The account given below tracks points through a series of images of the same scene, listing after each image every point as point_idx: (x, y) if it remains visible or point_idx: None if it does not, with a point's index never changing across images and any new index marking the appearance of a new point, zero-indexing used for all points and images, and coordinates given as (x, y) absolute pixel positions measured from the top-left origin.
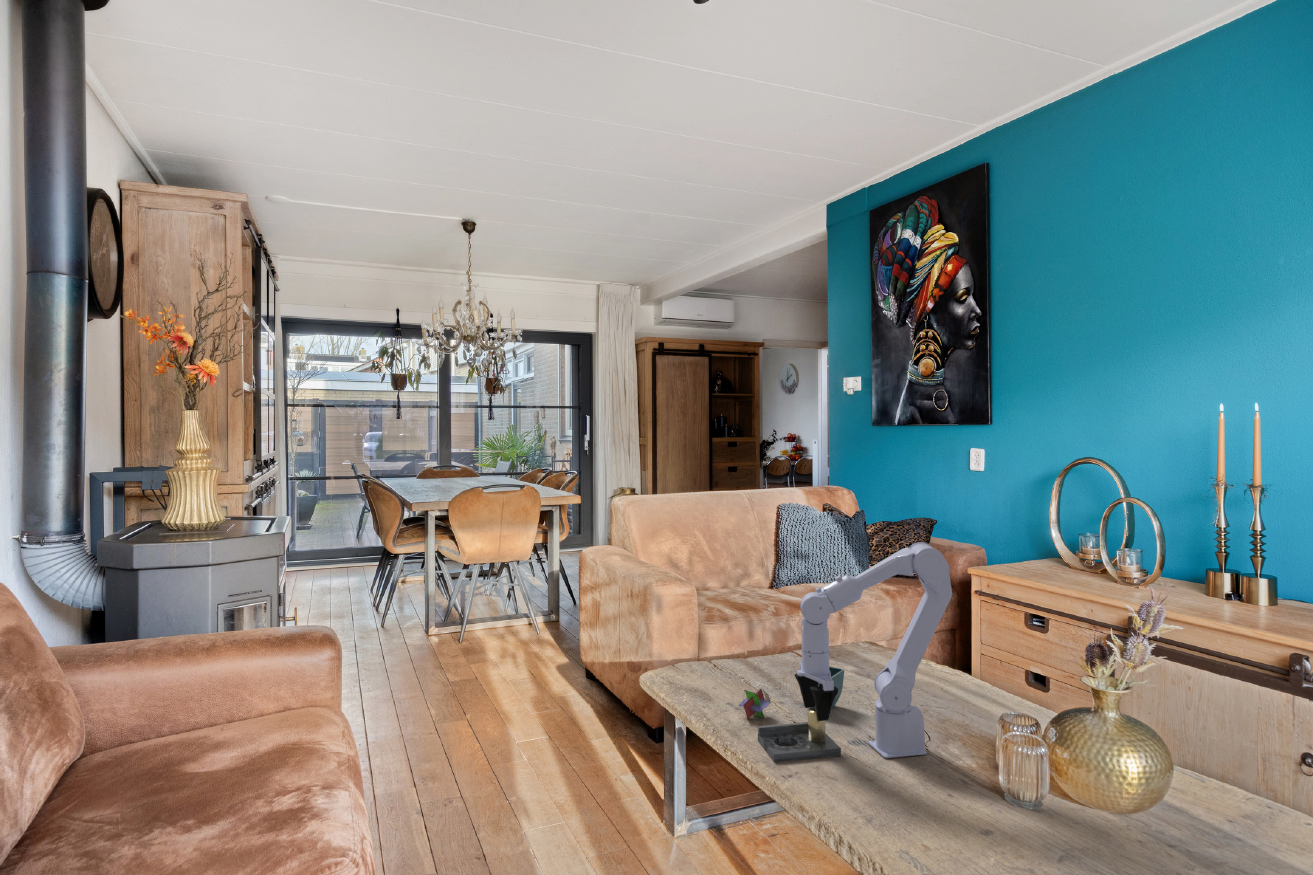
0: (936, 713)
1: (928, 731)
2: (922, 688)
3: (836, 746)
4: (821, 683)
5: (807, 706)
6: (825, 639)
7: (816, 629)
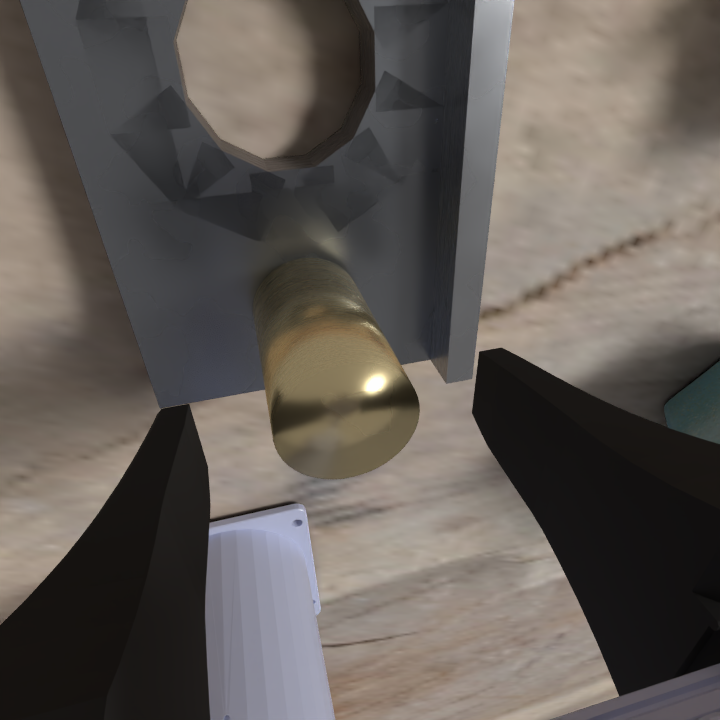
0: (494, 659)
1: (377, 645)
2: None
3: (185, 390)
4: None
5: (482, 370)
6: None
7: None
